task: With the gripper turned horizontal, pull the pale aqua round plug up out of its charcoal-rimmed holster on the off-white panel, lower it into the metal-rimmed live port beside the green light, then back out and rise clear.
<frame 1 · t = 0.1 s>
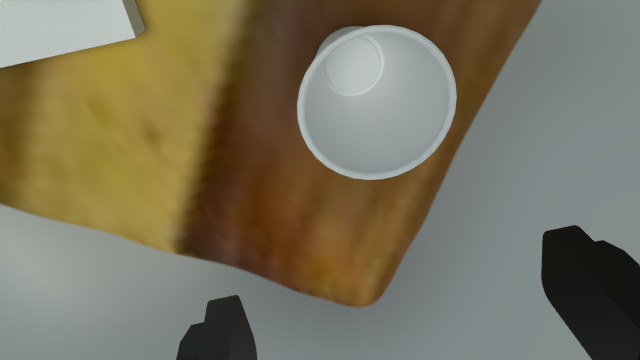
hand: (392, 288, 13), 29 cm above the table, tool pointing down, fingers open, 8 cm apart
cup: (351, 63, 40), on the table
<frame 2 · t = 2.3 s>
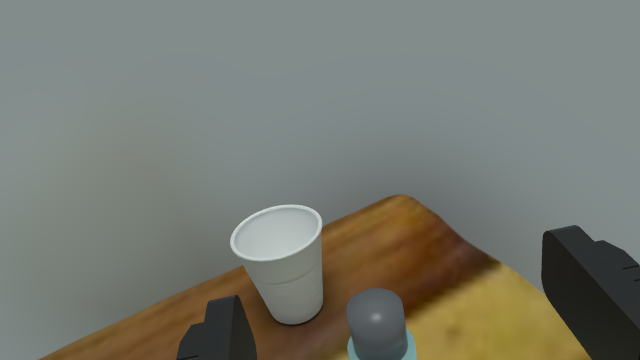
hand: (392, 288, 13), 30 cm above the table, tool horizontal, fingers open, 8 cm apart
cup: (297, 308, 56), on the table
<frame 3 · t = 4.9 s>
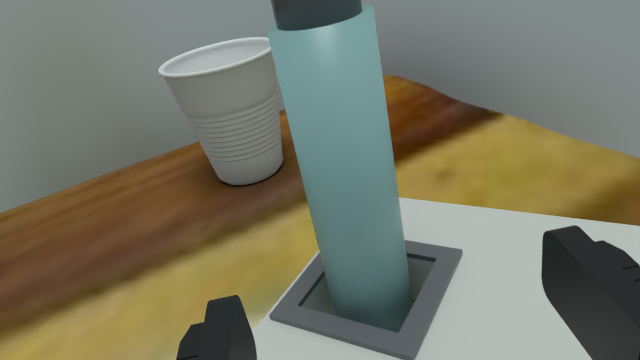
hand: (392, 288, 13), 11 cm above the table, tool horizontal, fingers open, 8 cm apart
plug: (377, 329, 25), resting in panel
cup: (252, 172, 45), on the table
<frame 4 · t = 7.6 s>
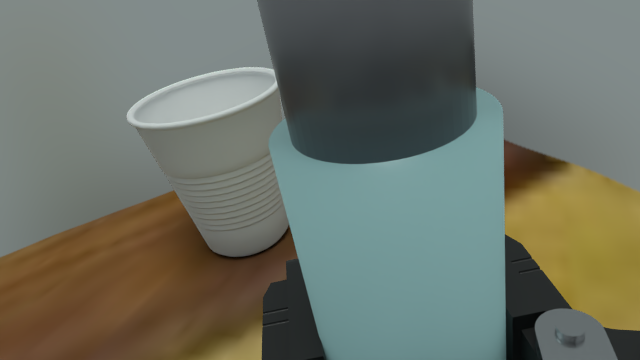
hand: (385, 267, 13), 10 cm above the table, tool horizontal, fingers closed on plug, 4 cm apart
cup: (250, 235, 36), on the table
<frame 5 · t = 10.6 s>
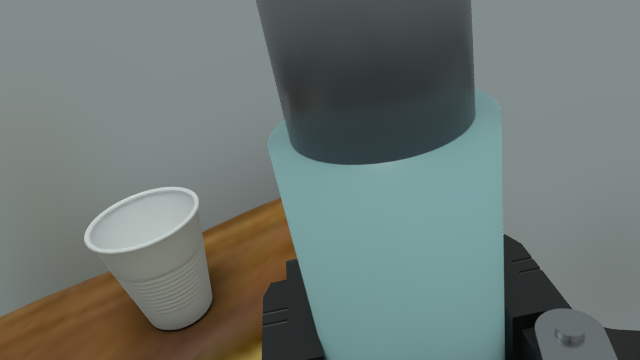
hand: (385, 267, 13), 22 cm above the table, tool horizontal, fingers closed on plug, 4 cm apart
cup: (183, 310, 47), on the table
when the fingers open (11 cm above the table, at t = 13.9 s): plug stays where it is, resting in panel.
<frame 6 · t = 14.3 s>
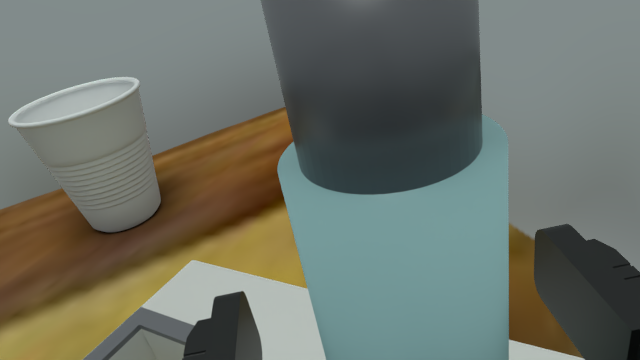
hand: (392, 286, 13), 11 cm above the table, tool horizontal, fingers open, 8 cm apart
cup: (129, 216, 43), on the table
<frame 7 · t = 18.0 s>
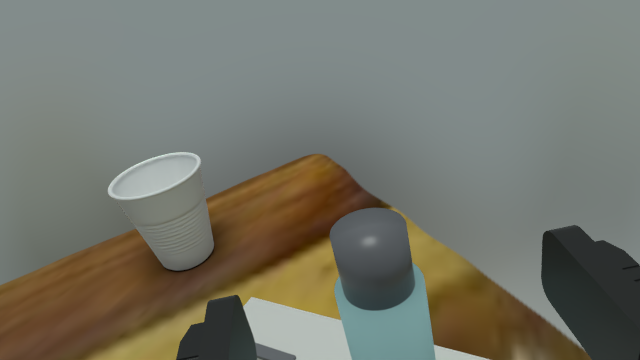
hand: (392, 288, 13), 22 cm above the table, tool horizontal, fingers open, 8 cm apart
cup: (190, 256, 57), on the table
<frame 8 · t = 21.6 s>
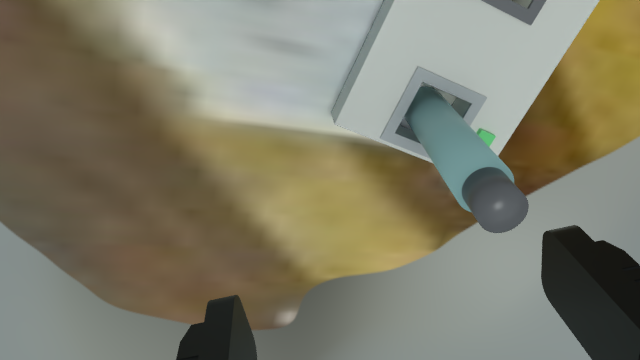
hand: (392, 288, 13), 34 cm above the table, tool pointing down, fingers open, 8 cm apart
plug: (422, 106, 47), resting in panel
panel: (460, 38, 44), on the table
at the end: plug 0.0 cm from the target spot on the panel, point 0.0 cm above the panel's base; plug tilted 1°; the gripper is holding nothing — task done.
